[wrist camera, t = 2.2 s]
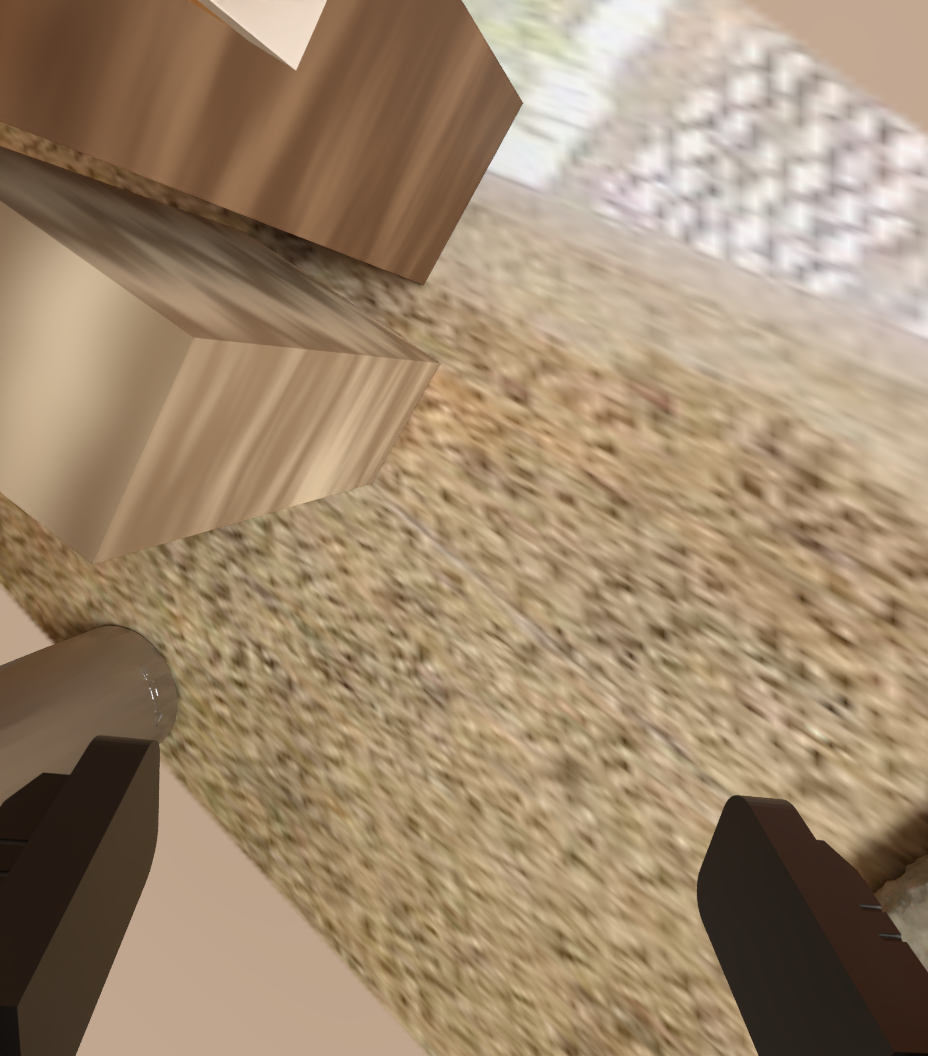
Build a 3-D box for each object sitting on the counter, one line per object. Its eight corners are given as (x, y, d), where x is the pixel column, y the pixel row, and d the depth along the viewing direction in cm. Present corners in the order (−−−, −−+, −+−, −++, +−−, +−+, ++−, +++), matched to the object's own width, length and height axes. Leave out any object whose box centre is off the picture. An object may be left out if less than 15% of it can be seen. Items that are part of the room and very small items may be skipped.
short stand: (440, 363, 40) (193, 337, 20) (371, 483, 42) (91, 564, 23) (244, 232, 42) (-152, 92, 22) (190, 353, 45) (-211, 325, 25)
